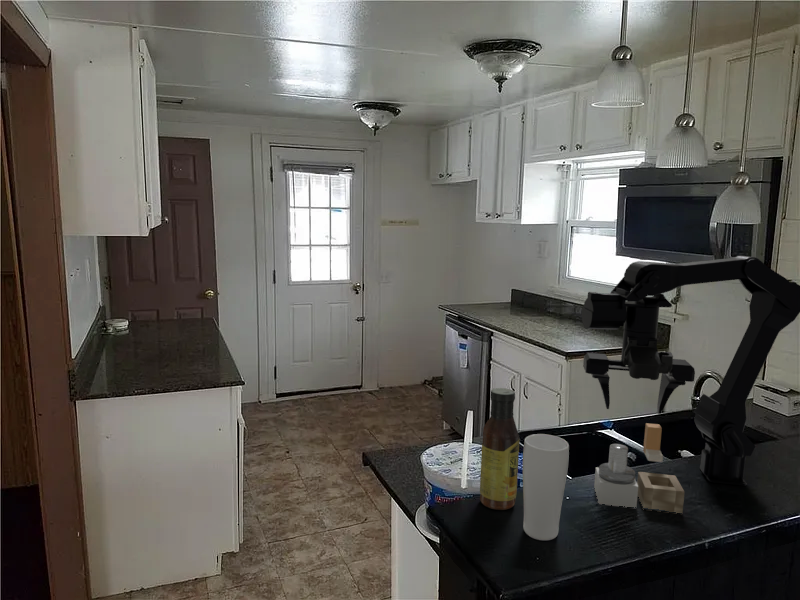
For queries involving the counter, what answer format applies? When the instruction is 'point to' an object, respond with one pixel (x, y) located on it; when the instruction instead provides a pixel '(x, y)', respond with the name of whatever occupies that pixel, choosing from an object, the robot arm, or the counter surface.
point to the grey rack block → (615, 492)
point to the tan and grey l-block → (653, 442)
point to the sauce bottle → (500, 453)
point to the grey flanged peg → (617, 466)
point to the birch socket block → (660, 492)
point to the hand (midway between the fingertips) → (633, 410)
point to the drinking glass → (543, 484)
